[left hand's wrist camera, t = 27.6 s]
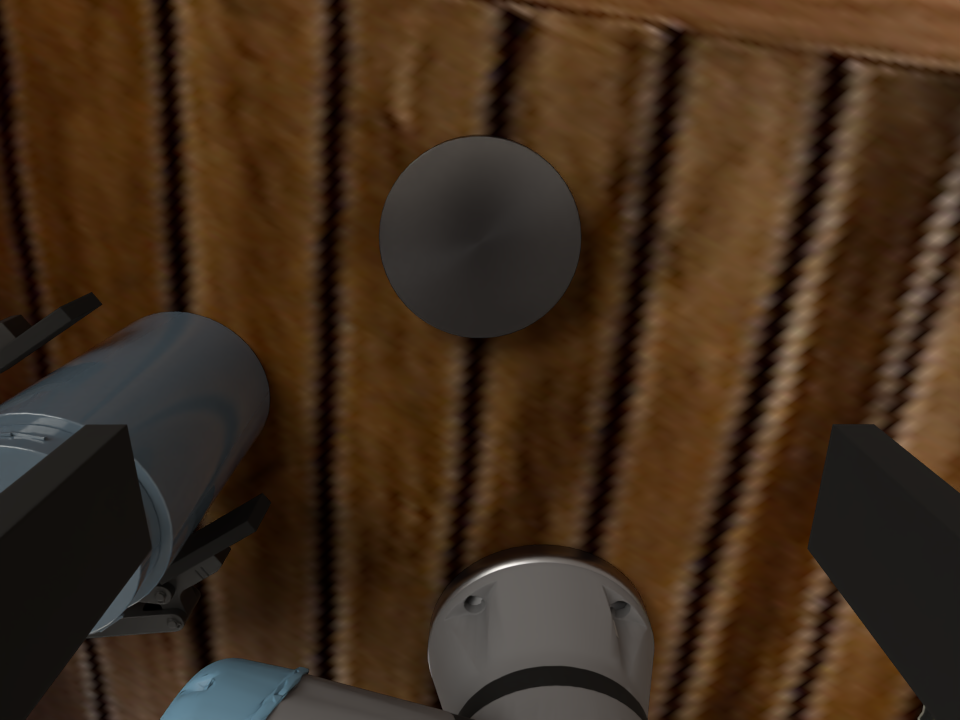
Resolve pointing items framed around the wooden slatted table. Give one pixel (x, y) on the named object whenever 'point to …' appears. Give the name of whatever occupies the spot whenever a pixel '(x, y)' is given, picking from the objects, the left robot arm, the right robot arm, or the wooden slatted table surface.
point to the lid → (480, 236)
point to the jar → (150, 423)
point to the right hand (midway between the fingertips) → (176, 414)
